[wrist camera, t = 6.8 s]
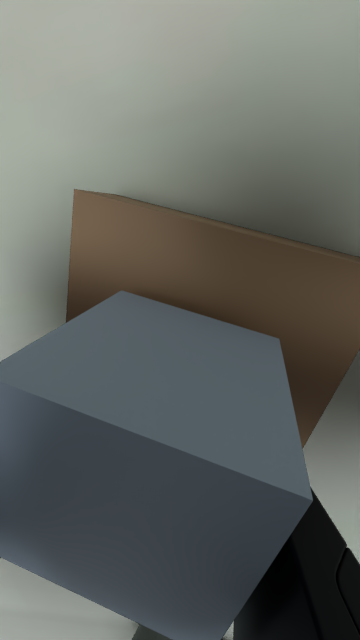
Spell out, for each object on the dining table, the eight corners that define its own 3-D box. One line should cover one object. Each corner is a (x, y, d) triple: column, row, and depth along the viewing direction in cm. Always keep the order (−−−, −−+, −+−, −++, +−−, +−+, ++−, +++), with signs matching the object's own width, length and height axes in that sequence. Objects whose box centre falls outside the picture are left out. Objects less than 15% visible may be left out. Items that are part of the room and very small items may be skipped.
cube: (228, 457, 10) (209, 657, 6) (103, 410, 11) (-5, 554, 6) (279, 338, 8) (312, 500, 4) (121, 290, 9) (-21, 374, 4)
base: (268, 447, 14) (271, 502, 12) (93, 384, 16) (59, 420, 13) (362, 258, 10) (401, 274, 8) (116, 194, 12) (74, 189, 9)
